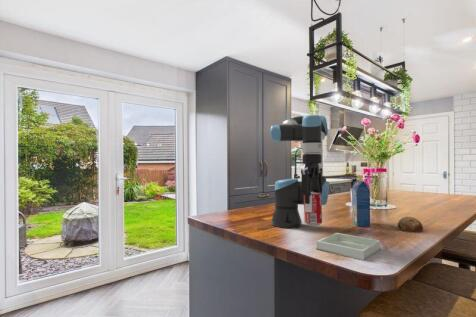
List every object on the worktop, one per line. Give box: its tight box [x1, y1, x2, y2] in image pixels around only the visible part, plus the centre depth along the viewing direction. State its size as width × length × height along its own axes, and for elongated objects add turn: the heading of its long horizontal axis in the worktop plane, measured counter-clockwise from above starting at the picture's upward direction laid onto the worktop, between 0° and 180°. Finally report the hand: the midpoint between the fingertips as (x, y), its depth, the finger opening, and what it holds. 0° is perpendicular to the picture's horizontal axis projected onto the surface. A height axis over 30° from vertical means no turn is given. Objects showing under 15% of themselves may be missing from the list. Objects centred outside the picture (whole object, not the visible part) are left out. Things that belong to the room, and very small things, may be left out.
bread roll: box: [397, 216, 424, 234], centre depth 130 cm, size 10×10×8 cm
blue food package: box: [351, 174, 371, 228], centre depth 142 cm, size 6×12×25 cm, turn 168°
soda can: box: [303, 192, 323, 227], centre depth 114 cm, size 7×7×13 cm
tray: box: [315, 232, 381, 261], centre depth 101 cm, size 17×17×3 cm
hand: (312, 210), depth 113 cm, fingers open, 5 cm apart
